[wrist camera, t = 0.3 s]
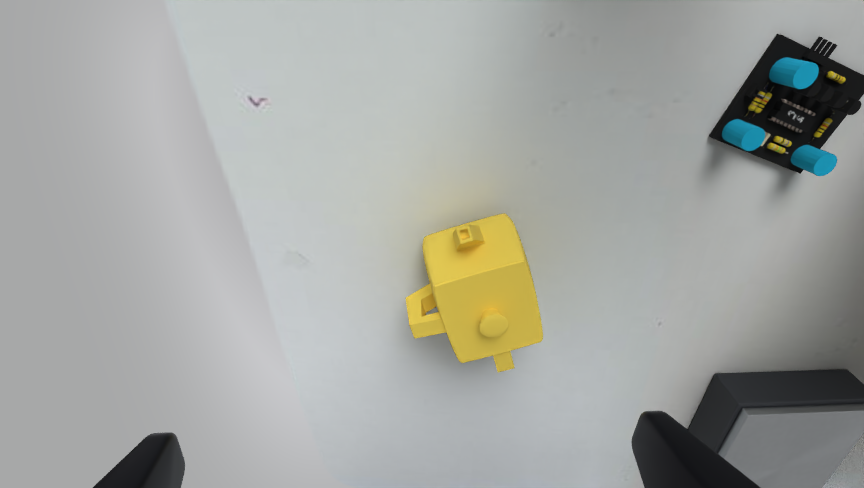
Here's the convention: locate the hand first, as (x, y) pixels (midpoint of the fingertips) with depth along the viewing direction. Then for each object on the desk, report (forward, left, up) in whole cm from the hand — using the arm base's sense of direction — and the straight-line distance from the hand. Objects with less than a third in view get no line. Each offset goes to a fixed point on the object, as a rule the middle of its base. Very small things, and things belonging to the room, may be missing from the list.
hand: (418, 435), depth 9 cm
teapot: (-5, -3, -14) cm, 15 cm away
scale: (-19, -24, -14) cm, 34 cm away
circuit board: (+3, -17, -14) cm, 22 cm away
